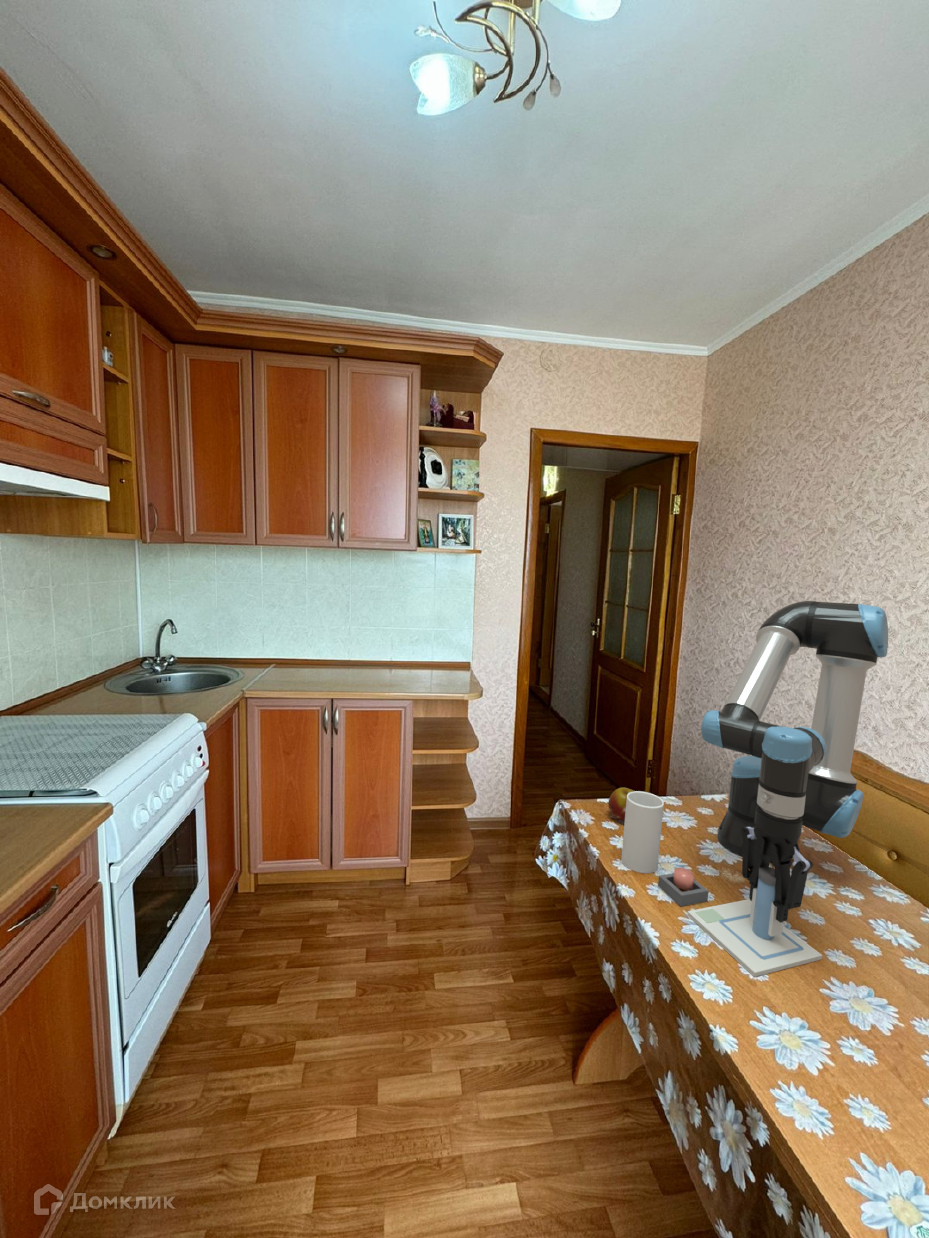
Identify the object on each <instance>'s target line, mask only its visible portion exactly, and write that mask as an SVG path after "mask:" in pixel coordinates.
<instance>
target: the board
mask: <svg viewBox="0 0 929 1238" xmlns="http://www.w3.org/2000/svg"><path fill="white" fill-rule="evenodd" d="M751 904H752V901H751V900H750V898H748V899H742V900H738V901H733V902H732V901H731V902H728V903H722V904H718V905H717V904H716V905H712V906H708V907H702V908H698V909H692V910H688V911H687V914H686V915H687V917H688V918H690V919H691V920H692V921H693V922H694V923H695V924H697V926H698V927H700V929H702V931H704V932H705V933H706V934H707V935H709V937H710V938H711V939H712V940H714V941H715V942H716V943H717V944H718V945H719V946H720V947H721V948H722V949H724V950H725V951H726V952H727V954H729V956H731V957H732V958H733V959H734V960H736V962H738V963H739V965H740V966H742V967H743V969H745V970H746V971H747V972H748V973H750V974H751V976H753V977H754V978H756V977H760V976H763V975H768V974H772V973H776V972H779V971H782V970H787V969H791V968H794V967H798V966H801V965H805V964H809V963H813V962H817V961H821V960H823V955H822V954H821V953H820V952H818V950H817V949H815V948H814V947H812V946H811V945H810V944H808V943H807V942H806V941H805V940H803V939H801V938H800V937H799V936H798V935H797V934H795V933H794V932H792V931H791V930H790V929H788V928H787V927H786V926H784V925H783V928H782V934H780V935H776V936H774V939H773V940H765V939H762V938H760V937H758V936H757V935H755V934H754V932H753V930H752V928H753V922H752V921H751V920H750V913H751Z"/></svg>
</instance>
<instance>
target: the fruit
mask: <svg viewBox="0 0 929 1238" xmlns="http://www.w3.org/2000/svg"><path fill="white" fill-rule="evenodd" d="M634 791H635V790H633V789H632V788H631V789H630V788H627V787H619V788H617V789H615V790H614V791H613V792H612V793H611V794H610V795H609V798H608V799H609V800H608V809H609V812H610V813H611V815H612V816H613V817H614V818H616V819H617V820H619V821H623V822H625V812H626V801H627V794H628V793H630V792H634Z"/></svg>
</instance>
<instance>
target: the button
mask: <svg viewBox="0 0 929 1238" xmlns="http://www.w3.org/2000/svg"><path fill="white" fill-rule="evenodd" d="M673 873H674V878H673V883H674V884H675V885H676V887H677V888H678V889H682V890H685V891H690V890H691V889H692V888H693V884H694V879H695V873H694V872H693V871H691V870H690V869H688V868H684V867H675V868H674V870H673Z"/></svg>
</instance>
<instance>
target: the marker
mask: <svg viewBox="0 0 929 1238" xmlns="http://www.w3.org/2000/svg"><path fill="white" fill-rule="evenodd" d="M758 877H759V879H758V887H757V895H756V904H755V912H754V920H753V928H752V930H753V932H754V934H755V935H757V936H758V937H760V938H762V939H765V940H773V939H774V936H772V937H771V936H770V935H768V929H769V921H770V913H771V905H772V902H773V901H776V895H775V884H776V878H775V868H773V867H772V866H771V867H770V866H769V867H767V866H765V867H760V868H759V874H758Z"/></svg>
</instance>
